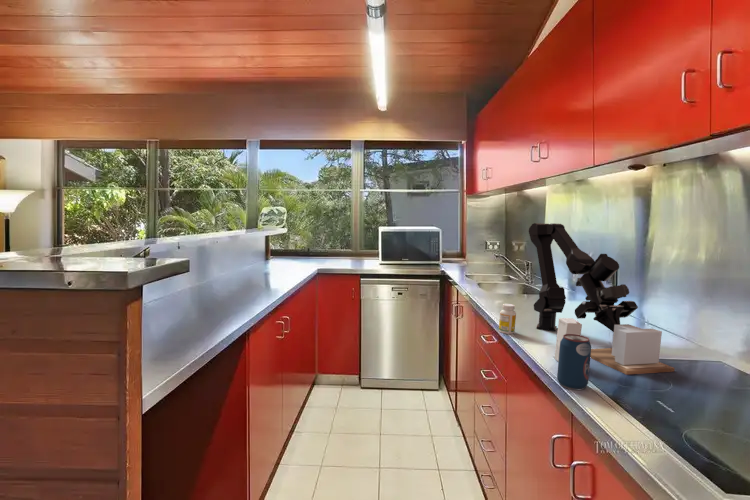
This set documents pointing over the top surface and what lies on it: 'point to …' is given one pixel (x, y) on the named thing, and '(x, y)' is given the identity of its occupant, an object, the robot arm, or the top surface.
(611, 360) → the brown board
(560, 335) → the skincare box
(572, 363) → the soda can
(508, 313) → the supplement bottle
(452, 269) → the top surface
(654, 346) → the white block
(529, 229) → the robot arm
